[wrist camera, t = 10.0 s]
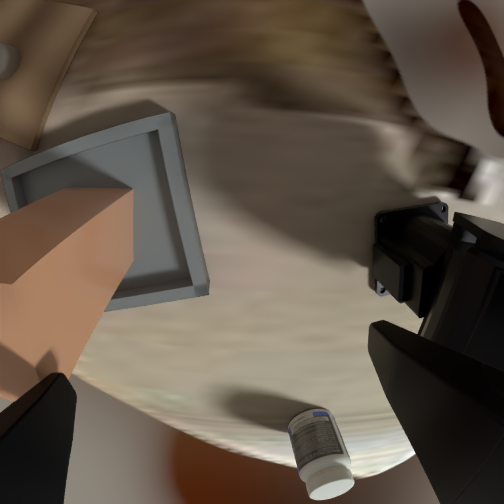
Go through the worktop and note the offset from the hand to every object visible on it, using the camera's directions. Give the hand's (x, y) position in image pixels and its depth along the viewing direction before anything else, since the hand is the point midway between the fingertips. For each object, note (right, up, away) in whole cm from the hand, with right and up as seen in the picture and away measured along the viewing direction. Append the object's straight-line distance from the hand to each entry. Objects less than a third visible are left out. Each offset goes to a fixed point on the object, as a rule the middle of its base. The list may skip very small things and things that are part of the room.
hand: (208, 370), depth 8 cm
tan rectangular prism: (-8, +5, +10) cm, 14 cm away
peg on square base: (-15, +16, +6) cm, 23 cm away
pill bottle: (+7, -14, +20) cm, 25 cm away
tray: (-8, +5, +11) cm, 15 cm away
